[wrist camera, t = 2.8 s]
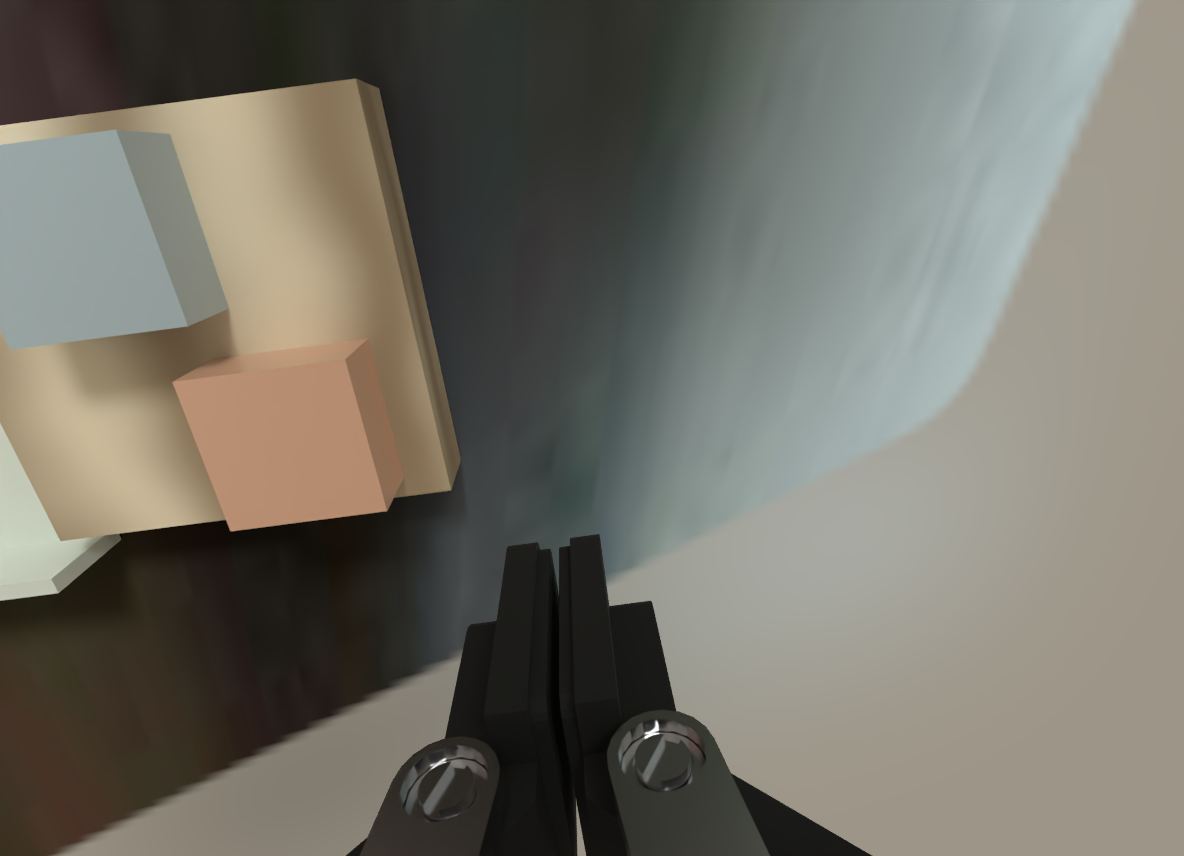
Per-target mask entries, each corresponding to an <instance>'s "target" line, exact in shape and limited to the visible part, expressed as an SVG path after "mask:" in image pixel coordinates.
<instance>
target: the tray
mask: <svg viewBox="0 0 1184 856" xmlns="http://www.w3.org/2000/svg"><path fill="white" fill-rule="evenodd" d="M120 540H121V537H120V535H119V534H112V535H105V536H97V537H89V538H82V539H74V540H66V541H60V539H59V537H58V535H57V533H56V532H55V530H54V528H53V526H52V524H51V522H50V520H49V518H48V516H47V514H46V512H45V510H44V508H43V506H42V504H41V502H40V500H39V498H38V496H37V494H36V492H35V490H34V488H33V486H32V484H31V482H30V480H29V479H28V477H27V475H26V473H25V471H24V469H23V467H22V465H21V463H20V461H19V459H18V457H17V455H16V453H15V451H14V449H13V447H12V445H11V443H10V441H9V439H8V437H7V435H6V433H5V431H4V429H3V427H2V426H1V424H0V601H2V600H10V599H17V598H25V597H33V596H40V595H48V594H56V593H59V592H61V591H62V590H63V589H64V588H65V587H66V586H68V585H69V584H70V583H71V582H72V581H73V580H75V579H76V578H77V577H78V576H79V575H80V574H82V573H83V572H84V571H85V570H86V569H87V568H89V567H90V566H91V565H92V564H93V563H94V562H96V561H97V560H98V559H99V558H100V557H102V556H103V555H104V554H105V553H106V552H107V551H109V550H110V549H111V548H112V547H113V546H114V545H116V544H117V543H118V542H119V541H120Z"/></svg>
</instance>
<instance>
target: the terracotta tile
mask: <svg viewBox="0 0 1184 856" xmlns="http://www.w3.org/2000/svg"><path fill="white" fill-rule="evenodd" d="M172 383H173V385H174V388H175V390H176V393H177V395H178V398H179V401H180V403H181V406H182V408H183V411H184V413H185V416H186V419H187V421H188V424H189V426H190V429H191V431H192V434H193V437H194V439H195V442H196V444H197V447H198V449H199V452H200V454H201V457H202V460H203V462H204V465H205V467H206V470H207V472H208V475H209V478H210V480H211V483H212V485H213V488H214V490H215V493H216V496H217V498H218V501H219V503H220V506H221V508H222V511H223V514H224V516H225V519H226V521H227V524H228V526H229V529H230V531H238V530H246V529H253V528H261V527H269V526H276V525H284V524H292V523H299V522H307V521H315V520H322V519H330V518H338V517H346V516H353V515H361V514H369V513H376V512H384V511H388V509H389V507H390V505H391V503H392V501H393V498H394V496H395V494H396V492H397V490H398V488H399V486H400V484H401V482H402V480H403V478H404V474H403V471H402V467H401V463H400V459H399V455H398V451H397V448H396V444H395V440H394V436H393V432H392V428H391V424H390V421H389V417H388V413H387V409H386V405H385V401H384V398H383V394H382V390H381V386H380V382H379V378H378V375H377V371H376V367H375V363H374V359H373V355H372V352H371V348H370V344H369V340H368V339H361V340H353V341H346V342H338V343H330V344H323V345H315V346H308V347H300V348H292V349H285V350H277V351H269V352H262V353H254V354H246V355H239V356H231V357H224V358H216V359H213V360H211V361H209V362H207V363H205V364H204V365H202V366H200V367H198V368H196V369H195V370H193V371H191V372H189V373H188V374H186V375H184V376H182V377H180V378H179V379H177V380H175V381H173V382H172Z"/></svg>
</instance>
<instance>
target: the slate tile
mask: <svg viewBox="0 0 1184 856" xmlns="http://www.w3.org/2000/svg"><path fill="white" fill-rule="evenodd" d="M227 309H229V307H228V304H227V301H226V298H225V295H224V292H223V289H222V286H221V283H220V280H219V277H218V274H217V272H216V269H215V266H214V263H213V260H212V257H211V254H210V251H209V248H208V245H207V242H206V239H205V236H204V233H203V230H202V227H201V224H200V221H199V218H198V215H197V212H196V210H195V207H194V204H193V201H192V198H191V195H190V192H189V189H188V186H187V183H186V180H185V177H184V174H183V171H182V168H181V165H180V162H179V159H178V156H177V153H176V150H175V148H174V145H173V142H172V139H171V136H170V134H165V133H152V132H140V131H127V130H109V131H102V132H94V133H86V134H79V135H71V136H64V137H56V138H49V139H41V140H34V141H26V142H18V143H11V144H3V145H0V330H1V332H2V334H3V336H4V338H5V340H6V342H7V344H8V346H9V349H10V350H12V349H19V348H27V347H35V346H42V345H50V344H57V343H65V342H73V341H80V340H88V339H95V338H103V337H111V336H118V335H126V334H134V333H141V332H149V331H156V330H164V329H172V328H179V327H187V326H190V325H192V324H195V323H197V322H199V321H202V320H204V319H206V318H208V317H211V316H213V315H215V314H218V313H220V312H222V311H225V310H227Z"/></svg>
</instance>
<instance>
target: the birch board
mask: <svg viewBox="0 0 1184 856" xmlns="http://www.w3.org/2000/svg"><path fill="white" fill-rule="evenodd" d="M109 130H127V131H140V132H152V133H165V134H170V136H171V139H172V142H173V145H174V148H175V150H176V153H177V156H178V159H179V162H180V165H181V168H182V171H183V174H184V177H185V180H186V183H187V186H188V189H189V192H190V195H191V198H192V201H193V204H194V207H195V210H196V212H197V215H198V218H199V221H200V224H201V227H202V230H203V233H204V236H205V239H206V242H207V245H208V248H209V251H210V254H211V257H212V260H213V263H214V266H215V269H216V272H217V274H218V277H219V280H220V283H221V286H222V289H223V292H224V295H225V298H226V301H227V304H228V307H229V309H227V310H225V311H222V312H220V313H218V314H215V315H213V316H211V317H208V318H206V319H204V320H202V321H199V322H197V323H195V324H192V325H190V326H187V327H179V328H172V329H164V330H156V331H149V332H141V333H134V334H126V335H118V336H111V337H103V338H95V339H88V340H80V341H73V342H65V343H57V344H50V345H42V346H35V347H27V348H19V349H12V350H10V349H9V346H8V344H7V342H6V340H5V338H4V336H3V334H2V332H1V330H0V424H1V426H2V427H3V429H4V431H5V433H6V435H7V437H8V439H9V441H10V443H11V445H12V447H13V449H14V451H15V453H16V455H17V457H18V459H19V461H20V463H21V465H22V467H23V469H24V471H25V473H26V475H27V477H28V479H29V480H30V482H31V484H32V486H33V488H34V490H35V492H36V494H37V496H38V498H39V500H40V502H41V504H42V506H43V508H44V510H45V512H46V514H47V516H48V518H49V520H50V522H51V524H52V526H53V528H54V530H55V532H56V533H57V535H58V537H59V539H60V541H66V540H74V539H82V538H89V537H97V536H105V535H112V534H120V533H128V532H135V531H143V530H151V529H158V528H166V527H174V526H181V525H189V524H197V523H204V522H212V521H220V520H226V519H225V516H224V514H223V511H222V508H221V506H220V503H219V501H218V498H217V496H216V493H215V490H214V488H213V485H212V483H211V480H210V478H209V475H208V472H207V470H206V467H205V465H204V462H203V460H202V457H201V454H200V452H199V449H198V447H197V444H196V442H195V439H194V437H193V434H192V431H191V429H190V426H189V424H188V421H187V419H186V416H185V413H184V411H183V408H182V406H181V403H180V401H179V398H178V395H177V393H176V390H175V388H174V385H173V383H172V382H173V381H175V380H177V379H179V378H180V377H182V376H184V375H186V374H188V373H189V372H191V371H193V370H195V369H196V368H198V367H200V366H202V365H204V364H205V363H207V362H209V361H211V360H213V359H216V358H224V357H231V356H239V355H246V354H254V353H262V352H269V351H277V350H285V349H292V348H300V347H308V346H315V345H323V344H330V343H338V342H346V341H353V340H361V339H368V340H369V344H370V348H371V352H372V355H373V359H374V363H375V367H376V371H377V375H378V378H379V382H380V386H381V390H382V394H383V398H384V401H385V405H386V409H387V413H388V417H389V421H390V424H391V428H392V432H393V436H394V440H395V444H396V448H397V451H398V455H399V459H400V463H401V467H402V471H403V474H404V478H403V480H402V482H401V484H400V486H399V488H398V490H397V492H396V494H395V496H394V498H397V497H404V496H412V495H420V494H427V493H435V492H443V491H450V490H451V489H452V486H453V483H454V480H455V477H456V474H457V471H458V468H459V465H460V462H461V458H460V454H459V449H458V445H457V440H456V435H455V431H454V426H453V422H452V417H451V413H450V408H449V404H448V399H447V395H446V390H445V386H444V381H443V376H442V372H441V367H440V363H439V358H438V354H437V349H436V345H435V340H434V336H433V331H432V327H431V322H430V317H429V313H428V308H427V304H426V299H425V295H424V290H423V286H422V281H421V277H420V272H419V268H418V263H417V258H416V254H415V249H414V245H413V240H412V236H411V231H410V227H409V222H408V218H407V213H406V209H405V204H404V200H403V195H402V190H401V186H400V181H399V177H398V172H397V168H396V163H395V159H394V154H393V150H392V145H391V141H390V136H389V131H388V127H387V122H386V118H385V113H384V109H383V104H382V100H381V95H380V91H379V88H377V87H374V86H372V85H370V84H367V83H365V82H363V81H360V80H358V79H349V80H341V81H334V82H326V83H319V84H311V85H304V86H296V87H289V88H281V89H273V90H266V91H258V92H251V93H243V94H236V95H228V96H221V97H213V98H205V99H198V100H190V101H183V102H175V103H168V104H160V105H153V106H145V107H138V108H130V109H122V110H115V111H107V112H100V113H92V114H85V115H77V116H70V117H62V118H55V119H47V120H39V121H32V122H24V123H17V124H9V125H2V126H0V145H3V144H11V143H18V142H26V141H34V140H41V139H49V138H56V137H64V136H71V135H79V134H86V133H94V132H102V131H109Z"/></svg>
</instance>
